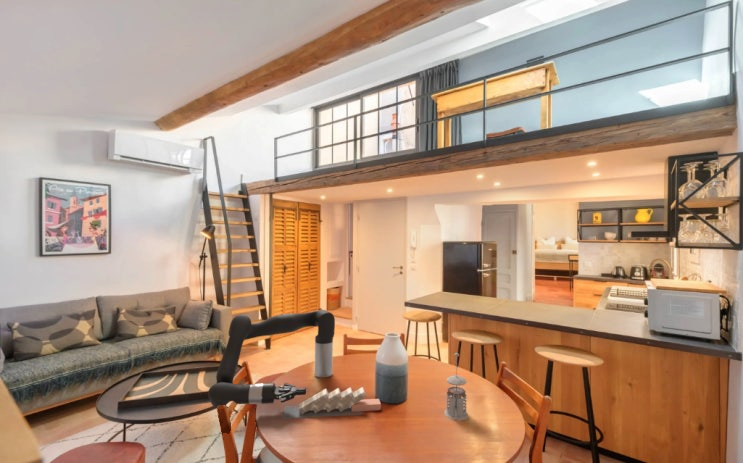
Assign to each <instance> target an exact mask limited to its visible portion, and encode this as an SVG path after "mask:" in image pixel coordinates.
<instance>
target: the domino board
mask: <svg viewBox="0 0 743 463" xmlns="http://www.w3.org/2000/svg"><path fill="white" fill-rule="evenodd" d="M299 408H300V405H288V406H287V405H286V406H285V405H284V407H283V412H282V415H281V420H285V419H286V420H288V419H289V420H290V419H305V418H318V417H319V418H321V417H322V418H323V417H325V418H326V417H339V416H340V417H342V416H357V415H364V411H353V412H352V410H351V406H350V407H348V408H347V409H345V410H343V411H342V412H340V410H339V408H338V407H337V408H335V409H333V410H332V411H330V412H327V410H326V408H324V409H322V410H320V411H319V412H317V413H315V412H314V410H313V408H312V409H310V410H309V411H307V412H305V413H304V414H302V413H301V411H300V410H299Z"/></svg>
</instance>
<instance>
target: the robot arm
mask: <svg viewBox="0 0 743 463" xmlns="http://www.w3.org/2000/svg"><path fill="white" fill-rule="evenodd" d="M251 320H252V319H251V318H250V316H248V315H246V314H238V315H236V316H234V317H233V319H232V320H231V321H230V325H229V329H228V336H229V337H228V341H227V344H226V347H225V349H224V352H223V355H222V358H221V360H220V362H219V366H218V369H217V371H216V372H217V373H216V376H215V377H216V383H215V384H214V383H213V385H211V386H210V388H209V389H208V391H207V395H208V396H207V397H208V399H209V401H210V403H211V406H213V408H215V409H218V408H217V406H218V405H225V406H227V405H228V403H229V402H230V401H231V402H234V404H237V405H248V404H249V405H261V404H262V405H265V404H274V402H275V400H280V403H285V402H288V401H291V400H294V399H295V397H297V396H305V395H306V394H307V388H306V387H299V388H298V387H296V385H294V384H292V383H291V384H290V383H286V382H284V383H283V385H278V386H276V383H275V382H261V383H260V382H259V383H252V384H251V383H250V384H237V383H234V378H235V375H236V372H237V368H238V365H239V360H240V356H241V351H242V347H243V344H244V341H246V340H250V339H255V338H259V337H265V336H272V335H281V334H288V333H294V332H297V331H298V330H301V329H303V328H308V327H309V328H310V327H317V335H315V339H314V376H315V377H317V378H322V379H323V378H329V377H331V376H332V375H333V357H334V356H333V353H334V352H333V351H334V348H333V344H334V337H335V325H336V319H335V315H334V314H333V313H332V312H330V311H328V310H326V309H318V310H314V311H308V312H301V313H300V312H296V313H283V314H277V315H274V316H271V317H268V318H267V319H265V320H263V321H260V322H253V323H252V321H251Z"/></svg>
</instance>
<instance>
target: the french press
mask: <svg viewBox="0 0 743 463" xmlns="http://www.w3.org/2000/svg"><path fill="white" fill-rule="evenodd" d="M454 357H456V358H455V359H456V363H455V364H456V367H455V369H456V373H455V374H456V375H451V376H449V377H447V378H446V382H447V383H448V384H449V385H452V386H450V387H448V388H447V392H446V409H445V411H443V412H444V415H445V416H446V418H448V419H450V420H453V421H465V420H467V419H469V413H468V412H467V394H466V390H465V389H464V388H463V387H459V386H465V385H466V384H467V379H465V378H464V377H462V376H459V375H458V357H460V354H459V353H458V352H454Z"/></svg>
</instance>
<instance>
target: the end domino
mask: <svg viewBox="0 0 743 463" xmlns="http://www.w3.org/2000/svg"><path fill="white" fill-rule="evenodd" d="M381 405H382V404H381V401H380V398H368V399H366V398H364V399H362V400H360V401H359V402H357V403H355V404H354V405H352V406H351V410H352V412H353V411H362V412H366V411H367V412H369V411H381V410H382V406H381Z"/></svg>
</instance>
